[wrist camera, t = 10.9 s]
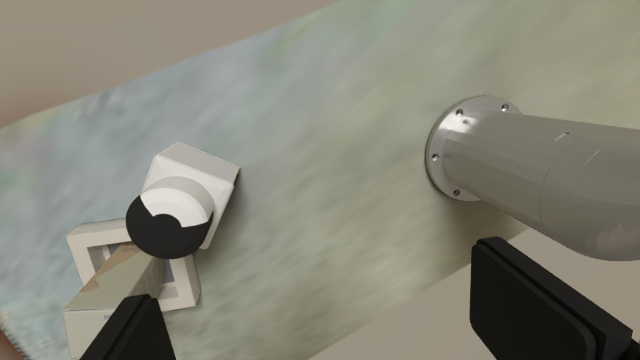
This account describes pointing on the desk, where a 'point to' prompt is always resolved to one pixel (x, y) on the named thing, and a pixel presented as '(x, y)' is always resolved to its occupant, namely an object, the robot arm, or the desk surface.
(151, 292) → the box
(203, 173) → the medicine bottle
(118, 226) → the shallow square tray
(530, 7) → the desk surface
